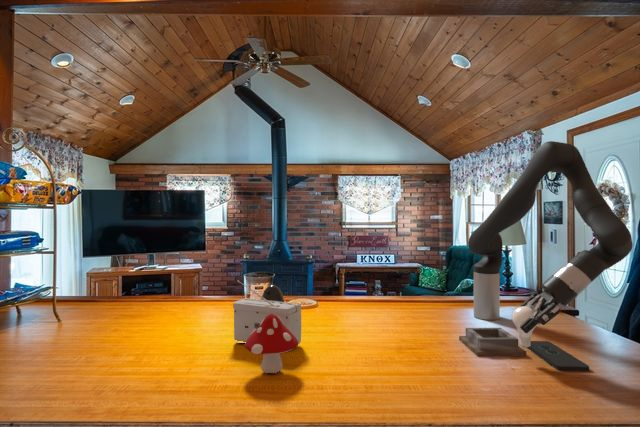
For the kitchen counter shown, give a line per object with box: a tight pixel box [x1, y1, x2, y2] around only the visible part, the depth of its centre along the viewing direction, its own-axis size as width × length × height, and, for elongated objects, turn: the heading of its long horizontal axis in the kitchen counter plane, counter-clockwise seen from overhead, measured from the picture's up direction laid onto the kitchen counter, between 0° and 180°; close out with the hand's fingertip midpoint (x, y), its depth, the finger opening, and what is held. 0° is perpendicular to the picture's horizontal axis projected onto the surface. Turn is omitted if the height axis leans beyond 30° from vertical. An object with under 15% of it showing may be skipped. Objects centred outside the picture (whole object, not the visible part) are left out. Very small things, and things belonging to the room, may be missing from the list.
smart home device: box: [526, 340, 590, 372], centre depth 110 cm, size 8×2×20 cm
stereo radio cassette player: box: [232, 279, 302, 345], centre depth 122 cm, size 21×8×20 cm, turn 65°
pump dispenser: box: [260, 284, 286, 302], centre depth 139 cm, size 10×10×15 cm
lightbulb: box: [511, 305, 538, 349], centre depth 106 cm, size 6×6×11 cm
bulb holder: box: [458, 327, 527, 357], centre depth 118 cm, size 14×14×4 cm
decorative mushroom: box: [243, 314, 299, 374], centre depth 101 cm, size 14×14×15 cm
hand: (518, 326), depth 107 cm, fingers closed on lightbulb, 6 cm apart
